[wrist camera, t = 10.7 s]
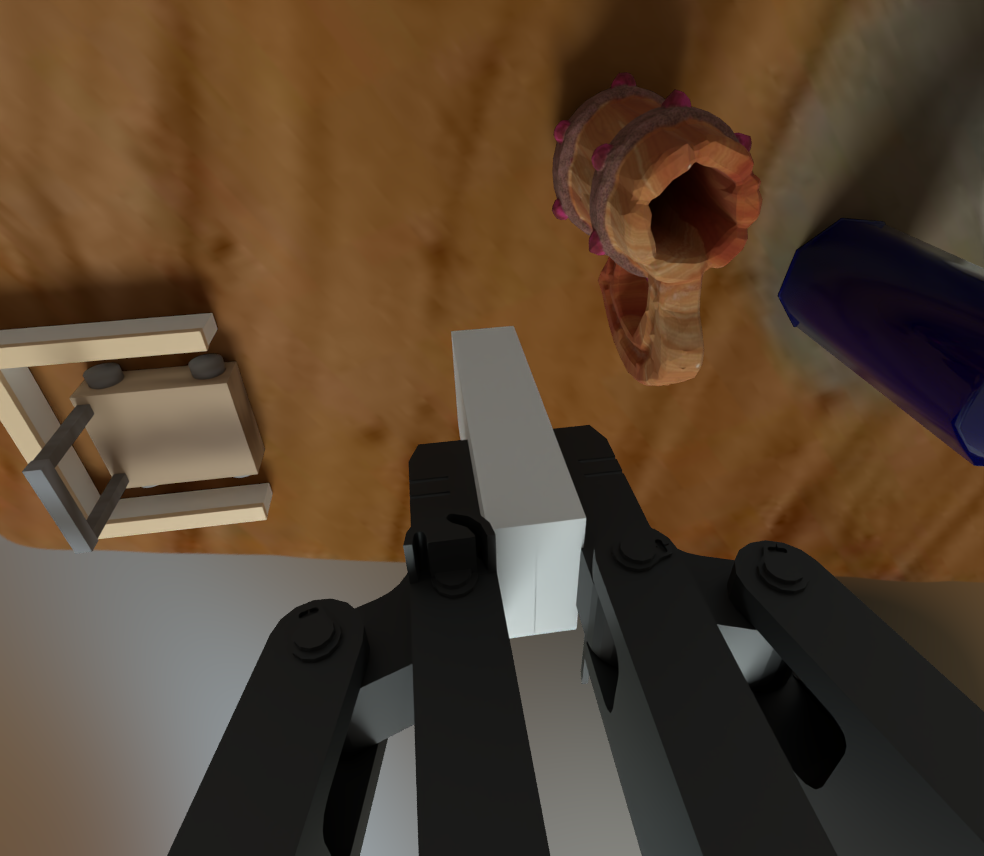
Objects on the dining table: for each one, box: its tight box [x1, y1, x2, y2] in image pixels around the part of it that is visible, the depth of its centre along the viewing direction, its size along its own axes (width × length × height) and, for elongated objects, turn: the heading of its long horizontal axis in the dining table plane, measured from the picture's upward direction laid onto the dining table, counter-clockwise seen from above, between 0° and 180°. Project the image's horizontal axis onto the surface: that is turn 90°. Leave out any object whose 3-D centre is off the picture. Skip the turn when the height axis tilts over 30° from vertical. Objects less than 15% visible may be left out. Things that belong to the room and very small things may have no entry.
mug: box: [552, 72, 762, 386], centre depth 33 cm, size 15×8×15 cm, turn 2°
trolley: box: [22, 354, 265, 554], centre depth 40 cm, size 10×10×10 cm
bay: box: [0, 313, 273, 539], centre depth 42 cm, size 17×14×3 cm
